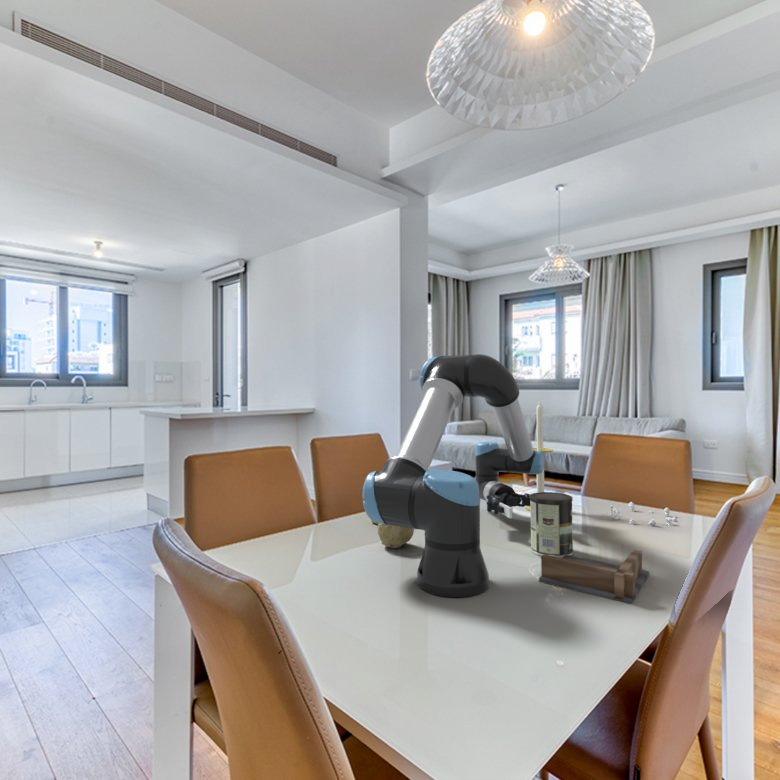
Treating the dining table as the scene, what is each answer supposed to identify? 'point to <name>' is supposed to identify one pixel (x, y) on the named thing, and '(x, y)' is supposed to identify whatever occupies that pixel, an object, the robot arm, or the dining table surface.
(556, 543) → the coffee can
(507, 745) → the dining table surface
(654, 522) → the game piece set
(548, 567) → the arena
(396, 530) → the coral
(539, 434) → the candle
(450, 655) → the dining table surface
